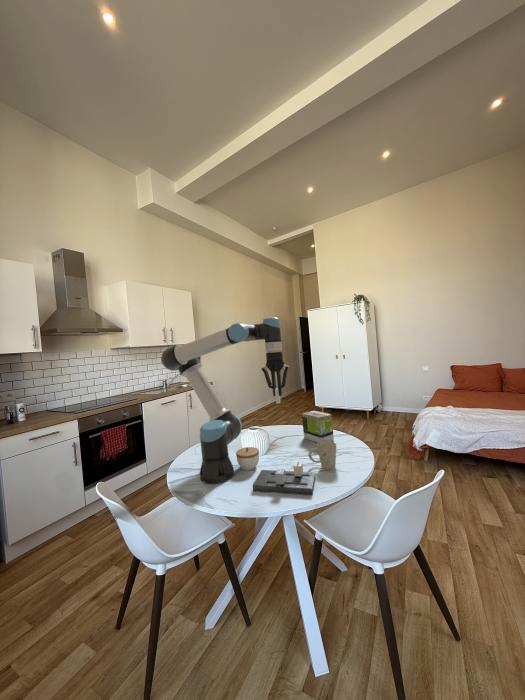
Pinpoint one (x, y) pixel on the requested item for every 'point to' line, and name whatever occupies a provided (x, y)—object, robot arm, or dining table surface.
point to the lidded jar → (248, 458)
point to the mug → (325, 454)
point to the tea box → (317, 426)
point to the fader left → (298, 469)
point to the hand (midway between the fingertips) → (278, 402)
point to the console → (291, 485)
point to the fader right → (280, 476)
